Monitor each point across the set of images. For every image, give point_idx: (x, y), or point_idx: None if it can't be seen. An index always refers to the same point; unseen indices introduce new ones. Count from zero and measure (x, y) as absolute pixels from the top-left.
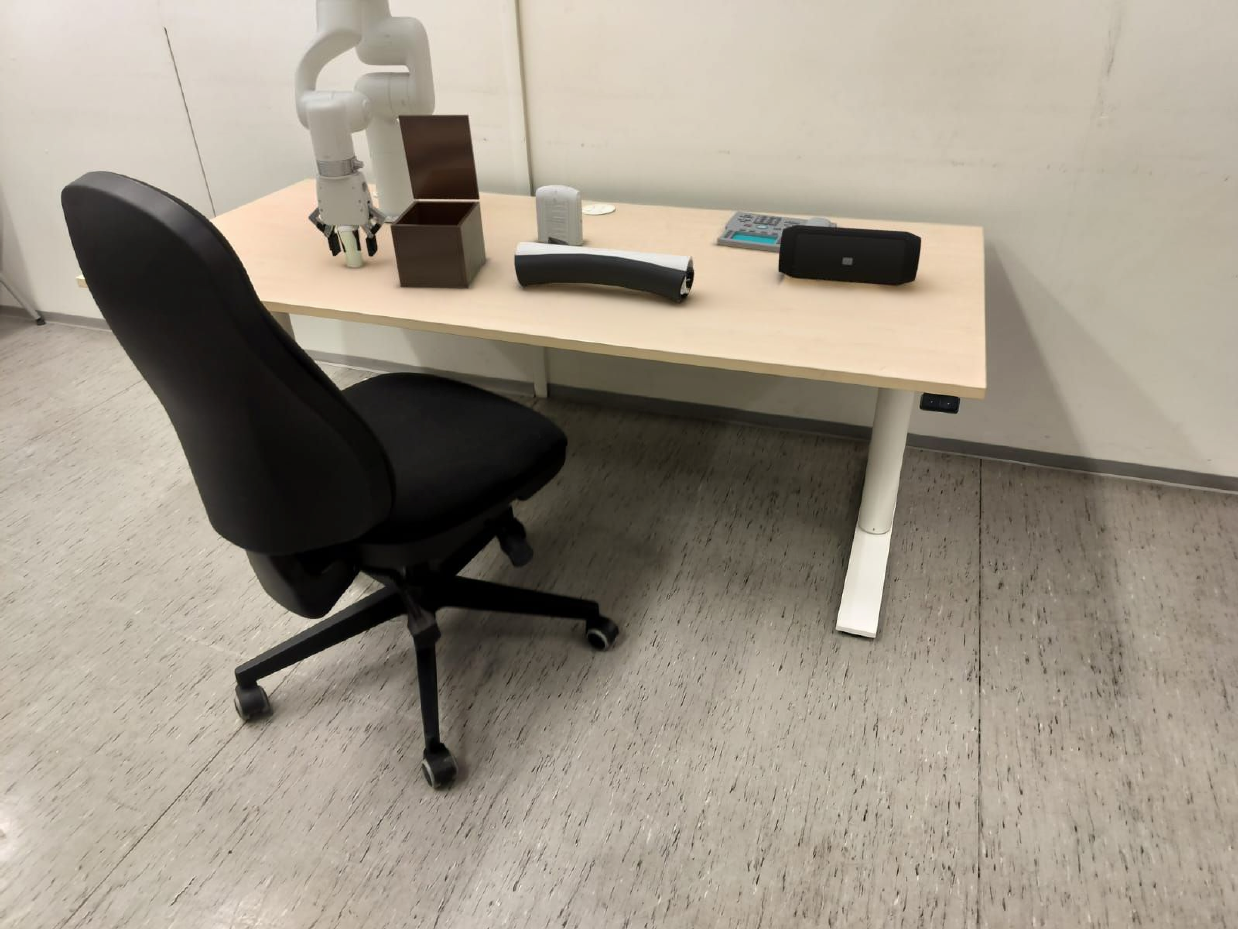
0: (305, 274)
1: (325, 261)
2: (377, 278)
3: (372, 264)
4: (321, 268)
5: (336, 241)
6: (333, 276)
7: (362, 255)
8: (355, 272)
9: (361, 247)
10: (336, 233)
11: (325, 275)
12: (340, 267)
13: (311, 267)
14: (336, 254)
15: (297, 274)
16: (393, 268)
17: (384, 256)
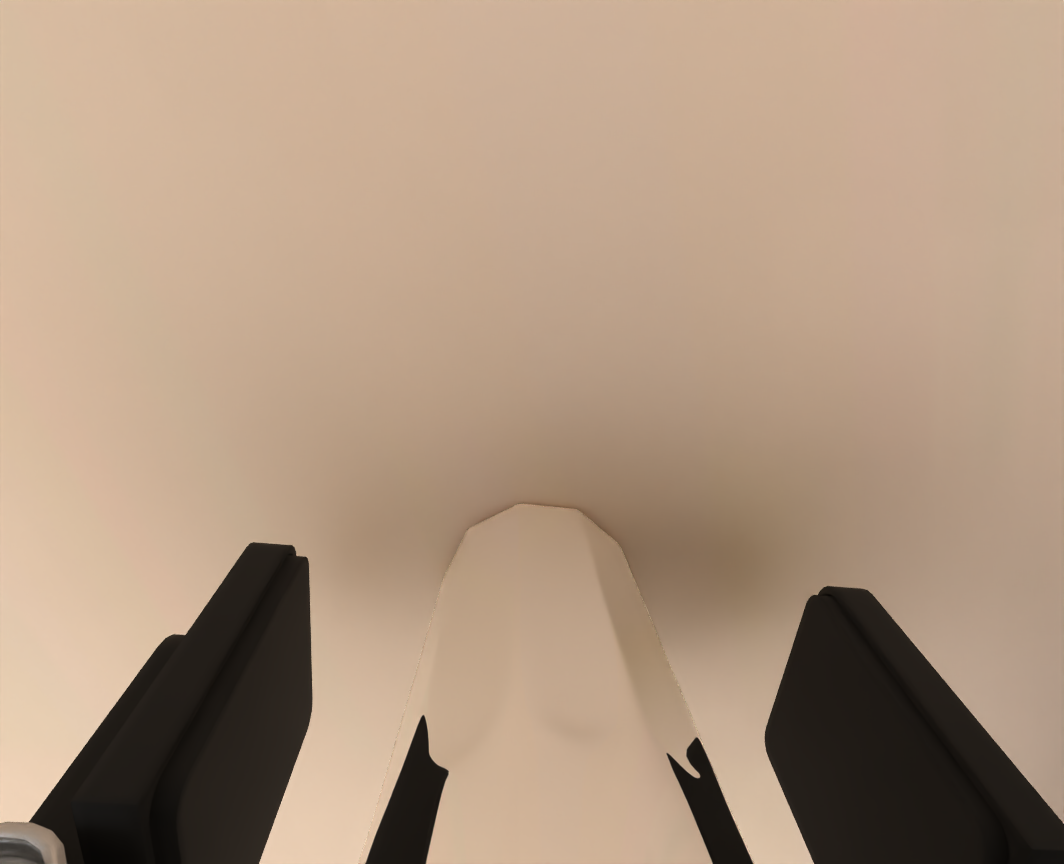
0: None
1: (103, 451)
2: (810, 858)
3: (727, 567)
4: None
5: (242, 783)
6: None
7: (643, 603)
8: None
9: (678, 690)
10: (147, 814)
11: (307, 798)
12: (380, 631)
13: (38, 620)
14: (309, 708)
15: (4, 773)
16: (959, 673)
17: (858, 313)
